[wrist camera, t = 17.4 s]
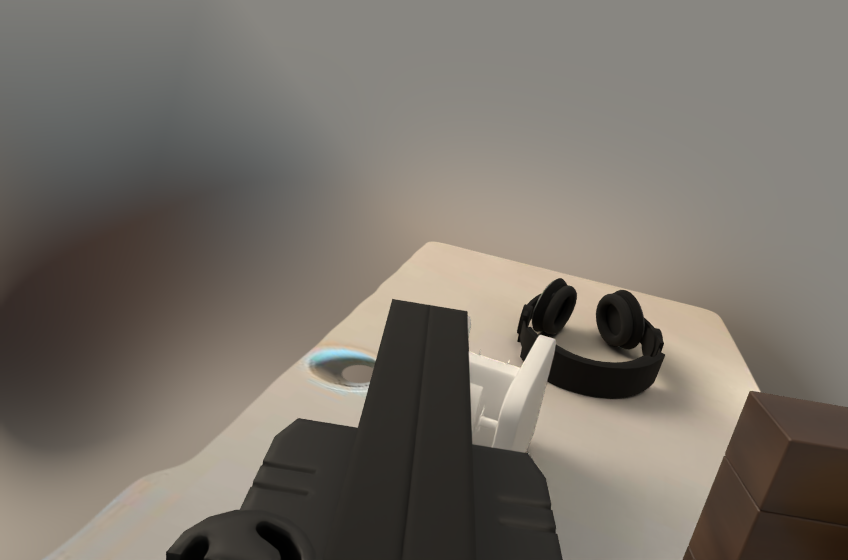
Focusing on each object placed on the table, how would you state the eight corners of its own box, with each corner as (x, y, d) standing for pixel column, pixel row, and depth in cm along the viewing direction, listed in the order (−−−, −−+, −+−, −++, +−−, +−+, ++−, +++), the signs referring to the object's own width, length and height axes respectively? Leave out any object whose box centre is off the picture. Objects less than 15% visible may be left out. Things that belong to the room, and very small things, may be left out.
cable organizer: (491, 542, 45) (523, 411, 41) (367, 490, 48) (384, 364, 44) (533, 439, 58) (561, 332, 54) (433, 404, 61) (452, 300, 57)
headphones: (653, 284, 82) (688, 368, 64) (637, 332, 86) (666, 424, 68) (524, 262, 83) (524, 337, 66) (513, 310, 87) (510, 394, 69)
